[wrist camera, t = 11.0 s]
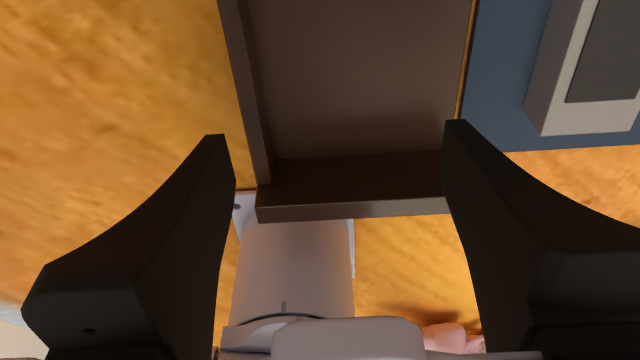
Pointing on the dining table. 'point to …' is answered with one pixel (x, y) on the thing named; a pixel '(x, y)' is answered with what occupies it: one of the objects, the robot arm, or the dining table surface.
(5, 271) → the dining table surface
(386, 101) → the dark wooden tray
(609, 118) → the remote
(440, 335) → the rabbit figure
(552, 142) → the desk mat
